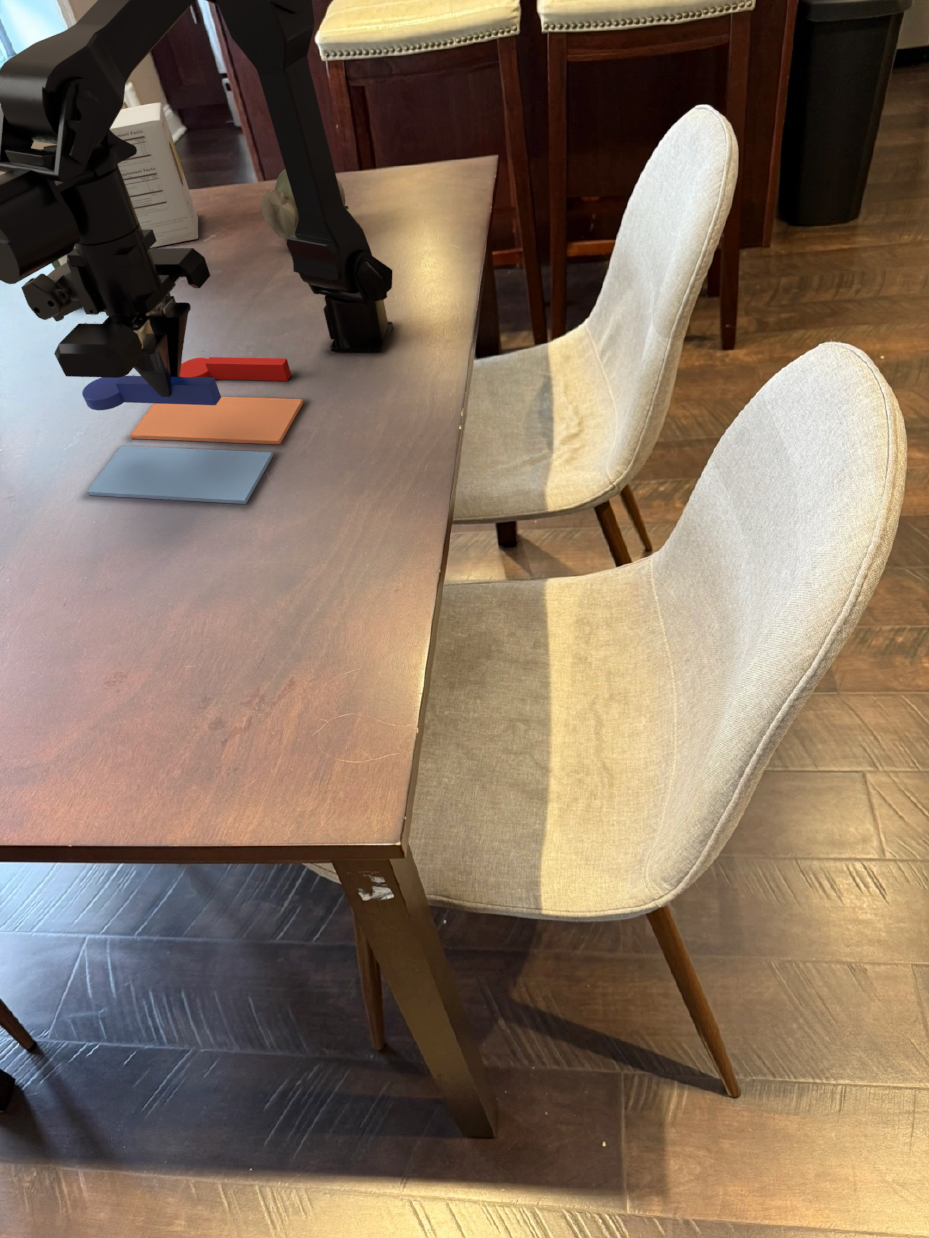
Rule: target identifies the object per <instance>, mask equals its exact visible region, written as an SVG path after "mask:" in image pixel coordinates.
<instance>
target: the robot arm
mask: <svg viewBox="0 0 929 1238" xmlns="http://www.w3.org/2000/svg"><path fill="white" fill-rule="evenodd" d="M196 1H197V0H96V1H95V2H94V4H92V6H91V7H90V8H89V9H88V10H87V11H86V12H85V13H84V14H83V15H82V16H81V18H79V19H78V21H77V22H76V23H74V24H73V25H72V26H70V27H68V28H67V29H65V30H64V31H61V32H59V33H56V34H53V35H51V36H48V37H46V38H44V39H41V40H38V41H35V42H34V43H32V44H31V45H29V46H28V47H26V48H24V49H23V50H21V51H20V52H18V53H16V54H15V55H14V56H12V57H10V58H9V59H7V60H6V61H5V62H3V64H2V66H1V67H0V172H2V173H3V174H0V282H3V283H5V284H8V285H16V284H17V283H20V282H21V281H22V280H24V279H26V278H28V277H30V276H31V275H33V274H35V273H37V272H38V271H40V270H42V269H44V268H46V267H48V266H50V265H52V264H51V263H53V262H55V261H56V260H58V259H60V258H62V257H64V256H65V255H67V263H65V264H63V265H61V266H59V267H57V268H56V269H53V270H52V271H51V272H49V273H48V274H47V275H46V274H45V273H40V274H38V275H37V276H36V277H35V278H34V277H32V278H30V279H29V280H28V281H26V282H25V283H24V284H23V285H22V286H21V291H22V293H23V297H24V299H25V301H26V304H27V306H28V307H29V308H30V309H31V311H32V312H33V313H34V315H35V316H36V317H37V318H38V319H41V320H44V321H47V320H49V319H51V318H53V320H54V321H55V322H61V321H62V320H64V319H65V316H68V315H70V314H72V313H74V312H77V311H78V310H80V309H83V311H84V313H85V315H87V316H88V315H92V316H94V315H95V316H96V315H97V316H98V315H99V314H100V313H105V315H106V316H107V318H106V319H105V320H104V321H103V322H102V323H82V322H81V323H79V322H78V324H76V325H75V327H74V328H72V330H71V331H70V332H69V333H68V334H67V335H65V337H64V338H63V339H62V340H61V341H60V342H59V343H58V344H57V346H56V349H55V351H54V352H53V354H54V357H55V358H56V360H57V362H58V364H59V366H60V368H61V371H62V372H63V374H64V376H65V377H75V378H102V377H106V378H120V377H122V376H129V374H130V373H131V372H132V370H133V369H134V370H135V371H136V372H137V374H139V376H142V377H143V378H144V379H145V381H146V382H147V383H148V384H149V385H150V386H151V387H152V388H153V389H154V390H155V391H156V392H157V393H158V395H159V396H161V397H170V396H171V394H172V391H171V377H180V371H181V364H182V363H183V362H182V361H183V351H184V343H185V336H186V330H187V324H188V316H189V312H190V311H191V310H192V309H191V308H192V307H191V304H190V303H189V302H187V301H185V302H182V301H181V302H179V301H177V302H176V298H175V296H174V295H171V292H172V290H173V289H174V288H175V287H176V286H177V284H176V282H177V280H179V278H185V279H186V282H187V285H189V286H190V287H191V288H193V289H201V288H202V287H203V286H204V284H205V283H206V282H207V281H208V280H209V278H210V277H211V272H210V270H209V266H208V262H207V261H206V257H205V256H204V255H202V254H201V253H200V252H198V251H197V250H196V249H195V248H194V247H168V248H167V247H164V248H163V247H162V248H161V247H159V248H158V247H152V248H150V247H151V246H152V245H153V244H154V243H155V242H156V241H157V240H156V238H155V235H154V232H153V229H143V230H142V229H141V226H140V223H139V221H138V218H137V215H136V212H135V210H134V207H133V204H132V202H131V199H130V196H129V194H128V191H127V188H126V185H125V183H124V180H123V177H122V175H121V172H120V169H119V167H118V164H119V163H120V162H122V161H124V160H126V159H128V158H130V157H132V156H134V155H135V154H136V153H137V148H136V147H135V146H134V145H133V144H130V143H128V142H126V141H124V140H122V139H120V138H119V137H117V136H116V135H115V134H114V133H113V132H112V131H111V130H110V128H111V126H112V124H113V123H114V121H115V119H116V117H117V116H118V114H119V112H120V110H121V109H123V106H124V102H125V92H126V83H127V82H128V81H129V78H130V77H131V75H132V73H133V72H134V70H136V68H137V67H138V66H139V65H140V64H141V63H142V62H143V60H144V59H145V58H146V57H147V56H148V55H149V54H150V53H151V52H152V50H153V49H154V48H155V47H156V46H157V45H158V44H159V43H160V42H161V40H162V39H163V38H165V36H166V35H167V33H168V32H169V31H170V30H171V29H172V28H173V27H174V26H175V24H176V23H177V22H178V21H179V20H180V19H181V18H182V17H183V15H184V14H185V13H186V12H187V11H188V10H189V8H191V6H192V5H193V4H194V3H195V2H196ZM205 1H206V2H208V3H211V4H213V5H215V6H217V7H218V9H219V11H220V14H221V17H222V19H223V21H224V24H225V26H226V28H227V30H228V33H229V35H230V38H231V39H232V41H233V42H234V43H235V44H236V45H237V46H238V48H239V49H240V50H241V51H242V53H243V54H244V55H245V56H246V58H247V59H248V60H249V61H250V63H251V64H252V66H253V67H254V68H255V70H256V72H257V76H258V78H259V83H260V85H261V89H262V92H263V97H264V100H265V102H266V107H267V109H268V113H269V117H270V120H271V125H272V127H273V131H274V134H275V137H276V142H277V145H278V148H279V152H280V155H281V159H282V161H283V165H284V169H286V173H287V176H288V180H289V183H290V187H291V190H292V194H293V197H294V200H295V204H296V207H297V211H298V220H297V224H296V228H295V232H294V235H292V236H290V237H288V238H287V240H286V247H287V248H288V251H289V253H290V256H291V259H292V267H293V268H292V269H293V272H294V273H297V274H299V275H298V276H299V277H300V279H301V280H302V281H303V282H304V283H306V284H307V285H308V286H309V288H310V290H311V291H312V294H313V295H322V296H324V302H325V305H324V307H323V315H324V318H325V322H326V327H327V331H328V337H329V338H330V340H332V342H331V344H330V346H329V348H330V349H329V350H330V352H348V353H349V352H350V353H351V352H352V353H353V352H354V353H355V352H357V353H379V352H381V351H382V350H383V348H384V346H385V344H386V342H387V340H388V338H389V336H390V334H391V332H392V329H394V323H393V322H392V321H388V317H387V310H386V305H385V299H388V292H390V291H391V290H392V289H393V269H392V268H391V267H389V266H388V265H386V264H385V263H384V262H382V261H380V260H379V259H378V258H376V257H375V256H374V255H373V253H372V251H371V248H370V245H369V242H368V239H367V237H366V234H365V231H364V229H363V227H362V226H361V225H360V223H359V222H358V221H357V219H355V218H354V217H353V215H352V214H351V213H350V211H349V210H348V209H346V208H345V207H344V205H343V202H342V198H341V194H340V190H339V186H338V182H337V178H336V176H337V174H336V170H335V167H334V162H333V158H332V154H331V150H330V146H329V142H328V137H327V133H326V130H325V125H324V121H323V118H322V113H321V110H320V105H319V100H318V97H317V93H316V89H315V84H314V80H313V77H312V73H311V68H310V63H309V58H308V54H309V50H310V45H311V40H312V37H313V33H314V29H315V24H316V23H315V22H316V21H315V15H314V13H315V12H314V6H313V0H205ZM34 142H38V143H43V144H51V145H57V150H56V152H54V151H47V150H40V148H33V145H34ZM74 247H75V248H74Z"/></svg>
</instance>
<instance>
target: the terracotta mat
mask: <svg viewBox="0 0 929 1238" xmlns="http://www.w3.org/2000/svg"><path fill="white" fill-rule="evenodd" d="M303 404H304V399H303V398H278V397H277V398H276V397H275V398H274V397H246V396H245V397H243V396H221V399H220V400H219V402H218V403H217V404H216V405H188V404H158V403H152V405H151V406H150V407H149V409H148V410H147V412H146V413H145V414H144V416H143V417H142V418H141V419H140V421H139V422H138V423H137V425H136V426H135V427H134V429H133V430H132V431H131V432H130V434H129V436H130V438H131V439H137V440H158V441H159V440H162V441H183V442H184V441H185V442H188V441H189V442H209V443H210V442H211V443H234V444H235V443H236V444H258V445H281V443H282V442H283V439H284V438H285V436H286V435H287V432H288V431H289V429H290V428H291V425H292V424H293V422H294V420H295V418H296V417H297V415H298V413H299V412H300V409H301V408H302V406H303Z"/></svg>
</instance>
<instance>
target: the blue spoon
mask: <svg viewBox="0 0 929 1238" xmlns="http://www.w3.org/2000/svg"><path fill="white" fill-rule="evenodd" d="M171 391H172V394H171V396H170V397H161V396H159V395H158V393H157V392H156V391H155V390H154V389H153V388H152V387H151V386H150V385H149V384H148V383H147V382H146V381H145V379H144V378H143V377H142V376H141V375H125V376H122V377H120V378H106V377H98V378H97V379H94V380H92V381H90V382H89V383H87V385H85V386H84V388H83V389H82V391H81V392H82V393H81V396H82V397H83V399H84V401H85V404H86V406H87V407H88V408H90V409H91V410H94V411H107V410H112V409H114V408H117V407H119V406H121V405H122V404H124V403H131V404H132V403H133V404H154V403H158V404H188V405H216V404H217V403H218V402H219V400H220V399H221V397H222V395H221V392H220V389H219V387H218V384H217V381H216V379H215V378H198V377H171Z"/></svg>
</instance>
